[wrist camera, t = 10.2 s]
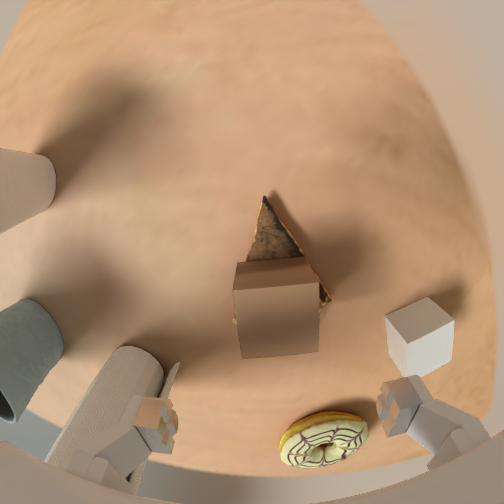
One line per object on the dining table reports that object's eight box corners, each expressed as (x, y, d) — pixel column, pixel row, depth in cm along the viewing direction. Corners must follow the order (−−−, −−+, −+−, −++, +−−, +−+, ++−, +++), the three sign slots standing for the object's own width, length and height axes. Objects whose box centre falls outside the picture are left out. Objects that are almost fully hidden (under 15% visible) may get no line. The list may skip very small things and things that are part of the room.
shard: (262, 193, 21) (263, 195, 19) (353, 220, 21) (361, 224, 20) (230, 316, 24) (228, 327, 22) (311, 333, 24) (315, 344, 23)
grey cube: (384, 315, 23) (407, 343, 18) (426, 296, 23) (454, 319, 18) (388, 353, 24) (407, 383, 20) (427, 334, 24) (450, 360, 19)
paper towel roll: (112, 375, 26) (31, 528, 5) (113, 335, 24) (1, 509, 3) (171, 398, 26) (121, 572, 6) (180, 360, 25) (115, 572, 4)
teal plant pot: (18, 342, 25) (-31, 391, 14) (8, 278, 23) (-59, 321, 11) (73, 375, 26) (27, 440, 15) (67, 310, 23) (-3, 376, 12)
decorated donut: (348, 447, 30) (354, 467, 26) (273, 453, 29) (274, 474, 26) (373, 401, 27) (383, 423, 23) (285, 407, 27) (288, 433, 23)
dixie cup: (56, 238, 21) (-18, 274, 12) (9, 210, 20) (-59, 231, 11) (76, 152, 19) (-8, 153, 10) (24, 134, 18) (-48, 133, 9)
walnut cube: (237, 262, 21) (232, 290, 16) (304, 256, 20) (319, 282, 16) (244, 320, 22) (242, 358, 17) (306, 315, 22) (318, 351, 17)
